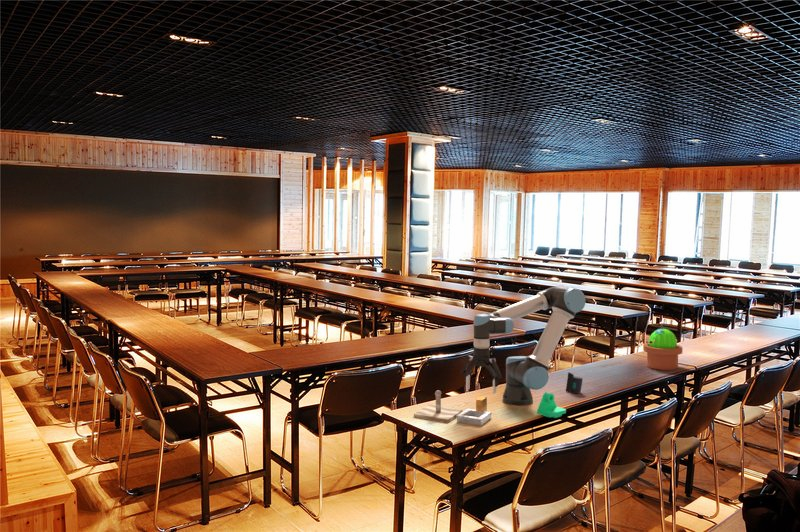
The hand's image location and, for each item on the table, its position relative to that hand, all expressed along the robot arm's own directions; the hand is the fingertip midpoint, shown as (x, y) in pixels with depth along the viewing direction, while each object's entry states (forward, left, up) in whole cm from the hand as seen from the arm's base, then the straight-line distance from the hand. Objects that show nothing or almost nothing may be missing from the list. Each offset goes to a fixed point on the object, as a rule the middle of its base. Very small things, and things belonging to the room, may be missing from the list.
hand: (481, 391), depth 279 cm
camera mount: (-15, +30, -12) cm, 35 cm away
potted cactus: (-140, +65, -12) cm, 155 cm away
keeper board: (+10, -18, -11) cm, 23 cm away
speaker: (-58, +30, -12) cm, 67 cm away
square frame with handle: (+6, 0, -11) cm, 13 cm away
